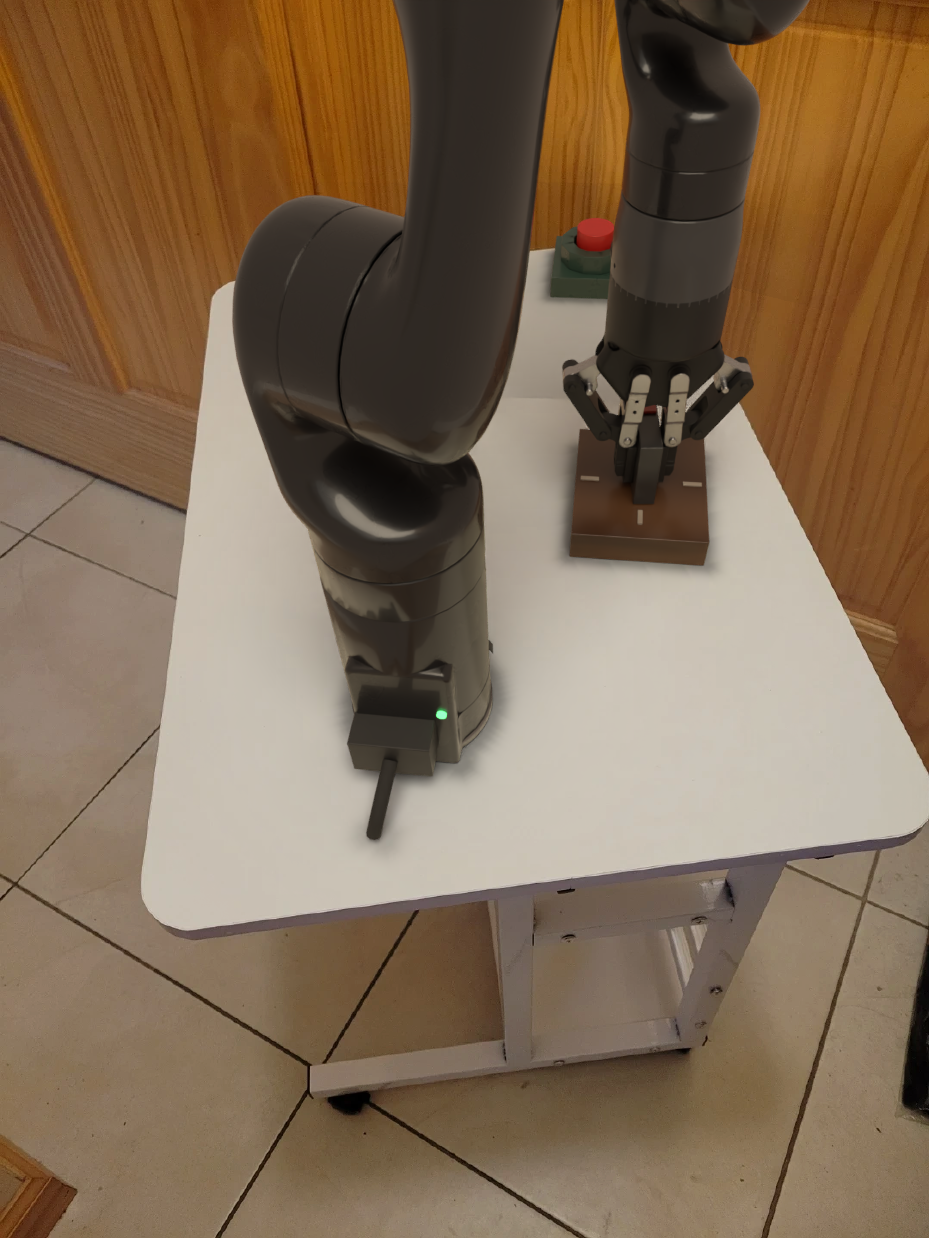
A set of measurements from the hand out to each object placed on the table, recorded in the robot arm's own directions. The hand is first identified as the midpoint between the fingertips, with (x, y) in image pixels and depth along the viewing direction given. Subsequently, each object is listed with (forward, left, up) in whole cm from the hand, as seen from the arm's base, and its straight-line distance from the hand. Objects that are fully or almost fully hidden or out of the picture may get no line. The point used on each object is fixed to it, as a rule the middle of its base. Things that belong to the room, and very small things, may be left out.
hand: (642, 474), depth 68 cm
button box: (+33, +5, -3) cm, 34 cm away
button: (+33, +5, 0) cm, 33 cm away
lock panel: (0, 0, -3) cm, 3 cm away
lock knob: (0, 0, -1) cm, 1 cm away
